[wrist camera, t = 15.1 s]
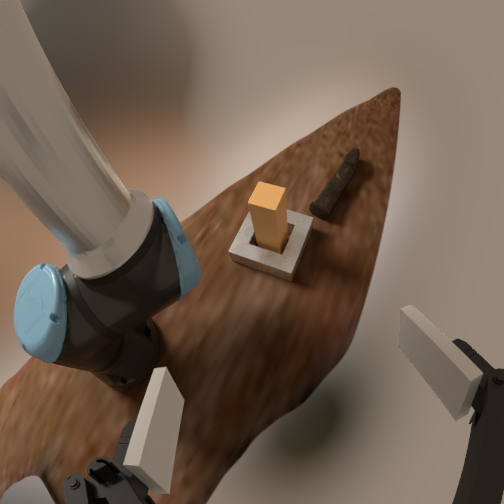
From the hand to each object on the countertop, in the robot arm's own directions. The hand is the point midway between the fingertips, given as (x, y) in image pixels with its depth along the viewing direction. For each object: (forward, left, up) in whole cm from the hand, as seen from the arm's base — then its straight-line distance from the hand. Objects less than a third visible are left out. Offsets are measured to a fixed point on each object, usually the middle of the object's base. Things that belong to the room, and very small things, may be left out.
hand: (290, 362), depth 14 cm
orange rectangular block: (-11, +20, -29) cm, 37 cm away
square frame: (-11, +20, -29) cm, 37 cm away
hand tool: (-4, +38, -30) cm, 48 cm away
